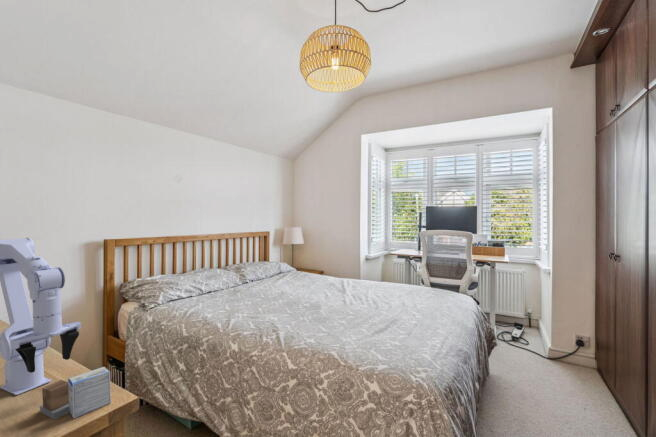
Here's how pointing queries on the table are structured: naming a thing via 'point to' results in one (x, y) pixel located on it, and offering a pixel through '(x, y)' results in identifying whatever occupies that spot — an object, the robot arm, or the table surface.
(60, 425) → the table surface
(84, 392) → the medicine box
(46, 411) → the slate block
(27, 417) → the table surface
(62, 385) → the walnut cube
